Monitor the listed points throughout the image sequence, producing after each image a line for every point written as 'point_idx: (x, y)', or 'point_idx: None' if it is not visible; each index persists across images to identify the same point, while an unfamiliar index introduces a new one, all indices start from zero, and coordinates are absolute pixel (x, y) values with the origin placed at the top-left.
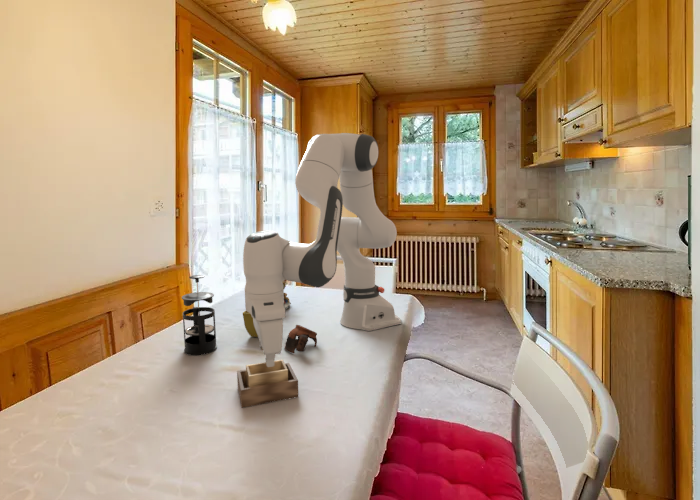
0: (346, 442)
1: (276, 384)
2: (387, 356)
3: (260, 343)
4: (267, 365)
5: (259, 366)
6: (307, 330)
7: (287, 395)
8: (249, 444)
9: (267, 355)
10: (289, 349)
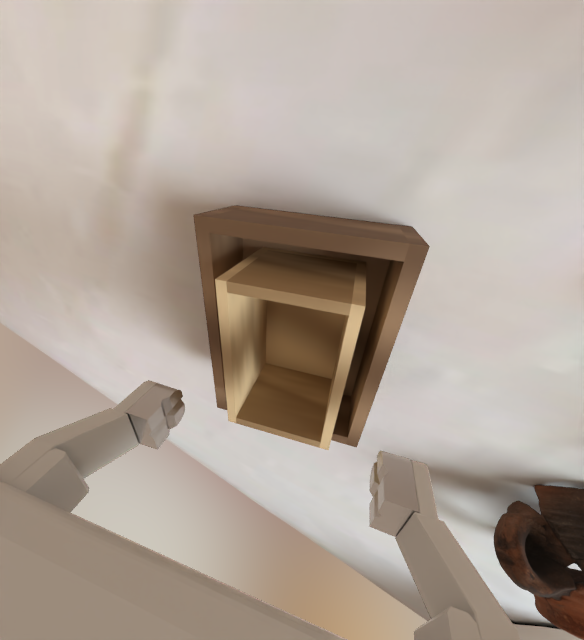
0: (81, 360)
1: (211, 351)
2: (334, 550)
3: (393, 504)
4: (144, 386)
5: (338, 359)
6: (566, 626)
7: None
8: (58, 186)
9: (48, 439)
10: (569, 498)
